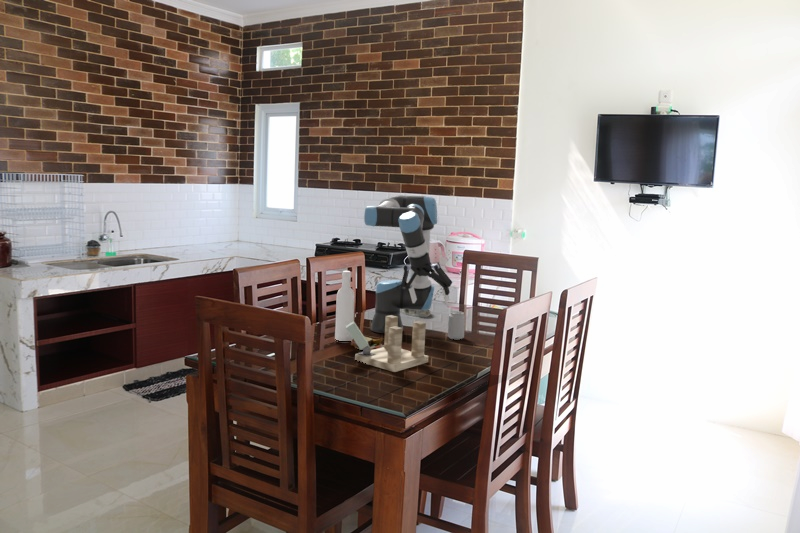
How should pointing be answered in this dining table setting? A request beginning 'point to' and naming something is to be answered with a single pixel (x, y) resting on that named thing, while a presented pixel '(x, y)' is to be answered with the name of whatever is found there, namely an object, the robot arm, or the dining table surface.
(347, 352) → the dining table surface
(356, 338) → the hinged leg
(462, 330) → the can
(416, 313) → the ceramic cottage
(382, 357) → the stool
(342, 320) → the bottle
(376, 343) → the toy sandwich meal
